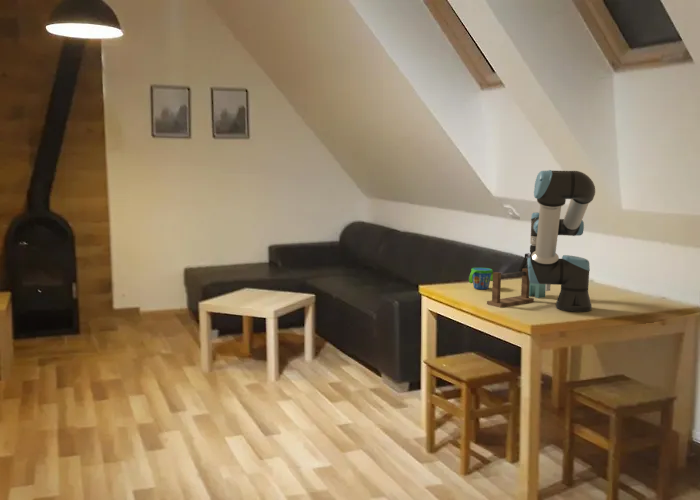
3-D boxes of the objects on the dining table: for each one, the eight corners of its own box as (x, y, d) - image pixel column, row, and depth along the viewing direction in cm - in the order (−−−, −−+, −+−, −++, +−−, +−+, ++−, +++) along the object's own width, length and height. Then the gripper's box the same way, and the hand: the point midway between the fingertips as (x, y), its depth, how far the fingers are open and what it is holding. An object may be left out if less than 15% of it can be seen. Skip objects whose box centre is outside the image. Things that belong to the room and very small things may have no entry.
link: (533, 294, 355) (534, 278, 354) (545, 296, 349) (545, 280, 348) (526, 295, 352) (527, 279, 351) (538, 298, 346) (539, 281, 345)
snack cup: (486, 285, 378) (487, 266, 376) (499, 289, 369) (500, 269, 367) (462, 288, 370) (463, 268, 369) (475, 291, 361) (476, 271, 360)
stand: (520, 298, 344) (521, 267, 342) (533, 301, 337) (535, 269, 335) (486, 304, 330) (488, 271, 328) (500, 307, 324) (501, 274, 322)
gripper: (512, 242, 355) (510, 285, 358) (554, 248, 335) (552, 293, 338) (522, 241, 359) (520, 284, 362) (564, 247, 340) (562, 291, 342)
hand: (536, 288), depth 350 cm, fingers open, 13 cm apart
